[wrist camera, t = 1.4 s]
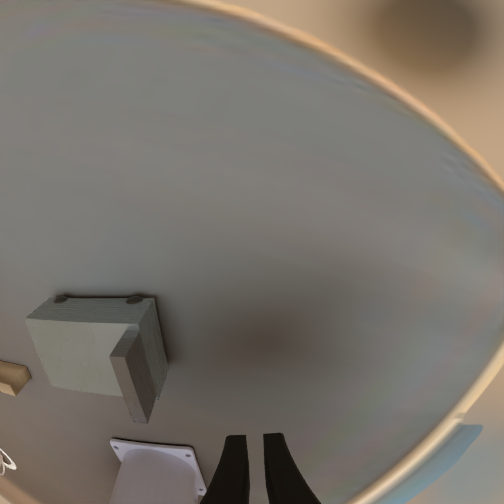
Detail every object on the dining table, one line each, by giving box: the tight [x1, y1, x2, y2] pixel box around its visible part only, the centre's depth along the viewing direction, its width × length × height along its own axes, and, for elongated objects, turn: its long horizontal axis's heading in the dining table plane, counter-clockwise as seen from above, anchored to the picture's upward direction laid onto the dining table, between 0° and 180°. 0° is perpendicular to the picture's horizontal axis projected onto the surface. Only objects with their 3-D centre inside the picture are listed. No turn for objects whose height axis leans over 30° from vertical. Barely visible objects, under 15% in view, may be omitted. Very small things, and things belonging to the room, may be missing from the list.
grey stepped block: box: [25, 296, 169, 424], centre depth 15 cm, size 8×6×6 cm
